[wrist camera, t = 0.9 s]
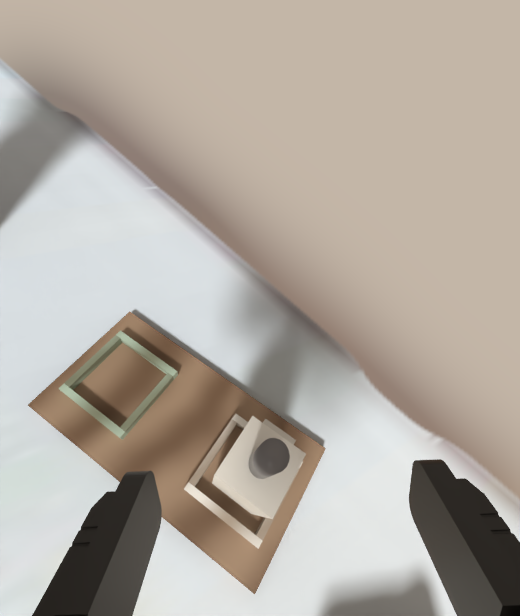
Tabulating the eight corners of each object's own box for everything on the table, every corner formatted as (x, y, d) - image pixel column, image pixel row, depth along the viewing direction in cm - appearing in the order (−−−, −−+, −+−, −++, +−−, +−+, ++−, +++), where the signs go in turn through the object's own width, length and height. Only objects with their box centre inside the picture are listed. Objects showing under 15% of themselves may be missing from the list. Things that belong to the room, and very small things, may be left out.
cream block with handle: (211, 483, 27) (216, 467, 15) (242, 435, 29) (267, 389, 17) (251, 513, 26) (287, 523, 14) (279, 462, 28) (331, 433, 17)
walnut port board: (31, 407, 29) (22, 402, 27) (131, 315, 35) (127, 306, 33) (253, 591, 24) (256, 597, 23) (322, 449, 30) (329, 446, 29)
